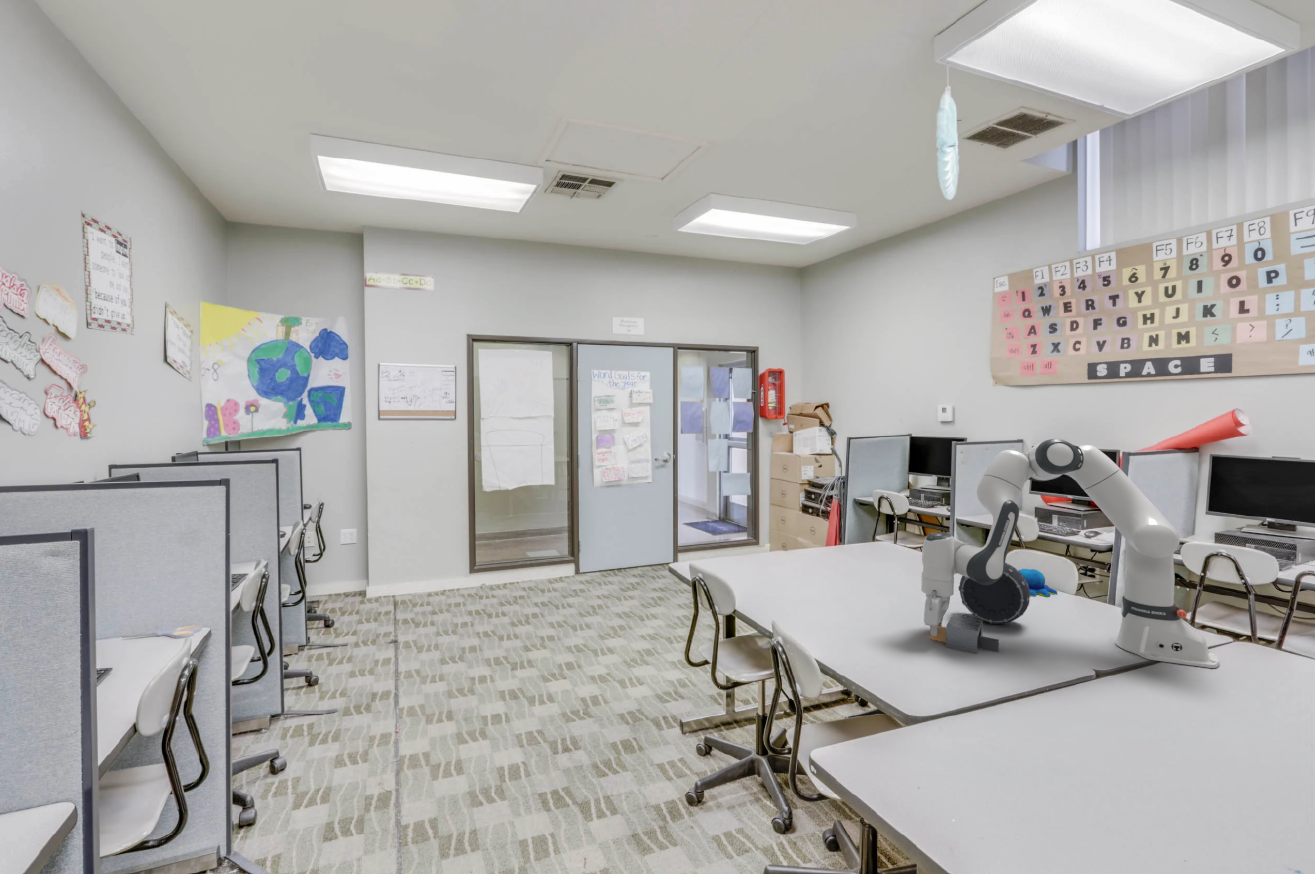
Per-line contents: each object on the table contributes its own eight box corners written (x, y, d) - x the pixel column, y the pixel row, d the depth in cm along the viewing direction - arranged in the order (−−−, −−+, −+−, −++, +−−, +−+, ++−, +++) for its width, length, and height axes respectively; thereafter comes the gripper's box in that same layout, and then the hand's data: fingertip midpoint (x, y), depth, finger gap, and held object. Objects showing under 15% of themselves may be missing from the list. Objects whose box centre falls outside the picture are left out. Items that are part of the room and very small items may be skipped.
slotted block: (982, 640, 181) (982, 619, 181) (976, 653, 171) (977, 631, 171) (952, 634, 185) (953, 613, 185) (946, 647, 176) (946, 625, 175)
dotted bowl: (1026, 633, 186) (1028, 569, 185) (955, 619, 199) (957, 559, 198) (1030, 623, 195) (1032, 562, 194) (962, 610, 207) (964, 553, 206)
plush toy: (1018, 597, 223) (1018, 575, 223) (995, 583, 240) (996, 563, 240) (1065, 598, 222) (1066, 576, 222) (1039, 584, 239) (1040, 563, 238)
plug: (998, 648, 175) (999, 637, 175) (997, 653, 172) (998, 641, 172) (932, 635, 185) (932, 624, 185) (929, 639, 182) (930, 628, 182)
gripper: (942, 597, 171) (941, 645, 172) (954, 580, 188) (953, 624, 189) (919, 593, 175) (917, 640, 176) (932, 577, 192) (931, 620, 193)
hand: (936, 631), depth 182 cm, fingers open, 5 cm apart
